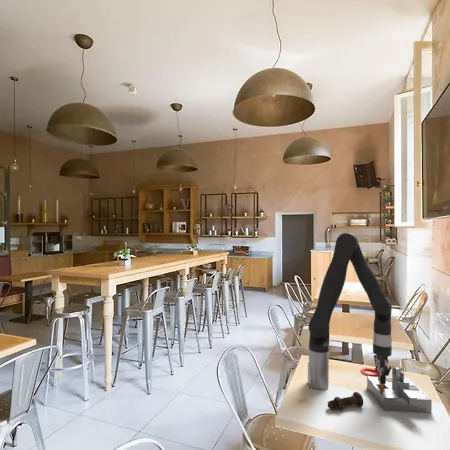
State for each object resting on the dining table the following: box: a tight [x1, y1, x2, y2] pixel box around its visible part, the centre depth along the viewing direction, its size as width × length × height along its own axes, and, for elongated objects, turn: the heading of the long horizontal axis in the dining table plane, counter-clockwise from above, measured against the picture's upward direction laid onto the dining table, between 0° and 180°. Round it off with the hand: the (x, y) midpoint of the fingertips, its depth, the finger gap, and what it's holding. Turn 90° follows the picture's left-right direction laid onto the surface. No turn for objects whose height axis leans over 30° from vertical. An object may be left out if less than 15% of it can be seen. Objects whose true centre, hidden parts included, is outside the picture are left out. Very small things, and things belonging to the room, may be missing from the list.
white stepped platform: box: [366, 365, 433, 414], centre depth 141 cm, size 19×24×14 cm
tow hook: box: [360, 367, 378, 377], centre depth 170 cm, size 8×13×9 cm
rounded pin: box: [379, 369, 385, 389], centre depth 144 cm, size 2×2×10 cm
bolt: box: [327, 391, 364, 411], centre depth 137 cm, size 6×5×15 cm
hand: (381, 381), depth 144 cm, fingers closed on rounded pin, 1 cm apart
